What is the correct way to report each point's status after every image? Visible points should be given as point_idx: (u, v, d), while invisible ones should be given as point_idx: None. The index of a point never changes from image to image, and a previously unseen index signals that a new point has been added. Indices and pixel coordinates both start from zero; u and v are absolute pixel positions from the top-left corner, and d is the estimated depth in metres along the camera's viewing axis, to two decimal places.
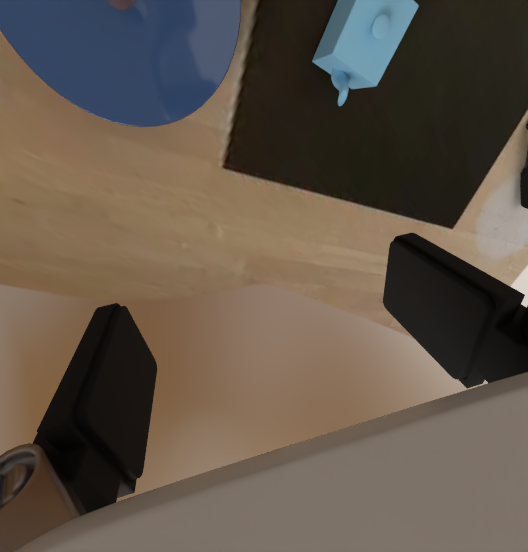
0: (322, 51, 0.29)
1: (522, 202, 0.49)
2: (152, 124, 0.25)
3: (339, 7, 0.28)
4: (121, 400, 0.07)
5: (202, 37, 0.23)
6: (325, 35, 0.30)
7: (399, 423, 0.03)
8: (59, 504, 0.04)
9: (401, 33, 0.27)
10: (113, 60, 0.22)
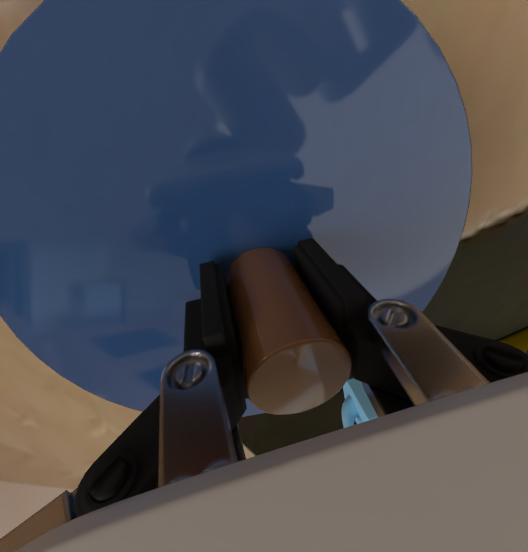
0: (357, 385, 0.25)
1: None
2: (129, 406, 0.13)
3: None
4: (235, 333, 0.08)
5: None
6: None
7: (399, 423, 0.03)
8: (217, 412, 0.05)
9: None
10: (156, 327, 0.11)
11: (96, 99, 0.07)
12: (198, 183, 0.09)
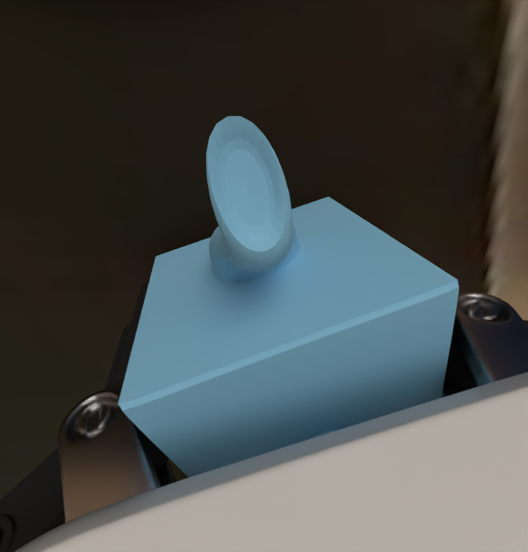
0: None
1: None
2: None
3: None
4: None
5: None
6: None
7: (399, 423, 0.03)
8: (132, 450, 0.05)
9: None
10: None
11: None
12: None
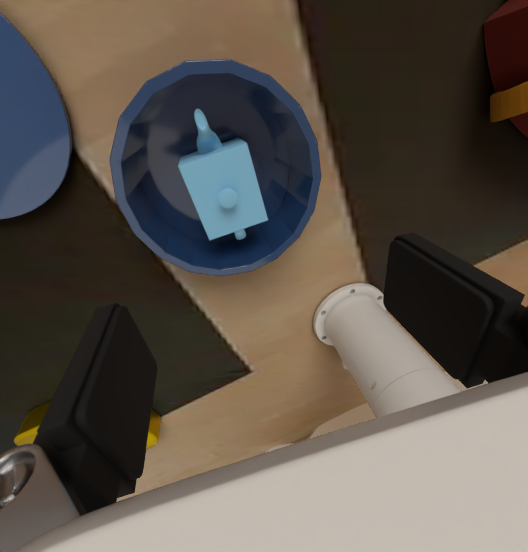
0: None
1: None
2: None
3: None
4: (121, 400, 0.07)
5: None
6: None
7: (399, 423, 0.03)
8: (59, 504, 0.04)
9: (202, 216, 0.25)
10: None
11: None
12: None
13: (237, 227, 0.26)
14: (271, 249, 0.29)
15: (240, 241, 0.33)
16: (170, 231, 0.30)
